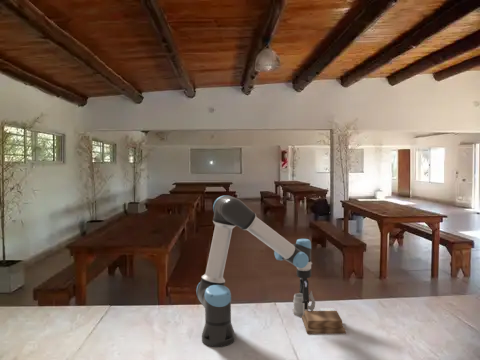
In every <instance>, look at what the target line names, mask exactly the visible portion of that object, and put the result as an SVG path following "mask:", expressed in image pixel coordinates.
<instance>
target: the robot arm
mask: <svg viewBox="0 0 480 360" xmlns="http://www.w3.org/2000/svg"><path fill="white" fill-rule="evenodd" d="M212 209H213V218H212V222H213V225H214V230H213V234H212V235H213V236H212V238H211V239H212V240H211V244H210V250H209V254H208V255H209V256H208V258H207V265H206V268H205V273H204V274H203V275H201V278H200V282H198V284H197V286H196V290H195V291H196V296H197V297H196V298H197V299H198V301H199V302H200V304H201V305H202V306H203V308H204V311H205V312H204V313H205V314H204V318H205V323H204V326H203V329H202V333H201V341H202V343H203V344H204V345H206V346H210V347H217V348H218V347H219V348H220V347H225V346H229V345H231V344H232V343H234V342H235V340H236V332H235V330H234V327H233V324H232V305H231V304H232V293H231V290H230V288H229V287H227V286H226V285H225V284H226V279H225V277H224V272H225V268H226V262H227V258H228V252H229V248H230V243H231V238H232V233H233V229H234V228H235V227H238V228H239V229H241V230H242V231H248V233H250V234H251V235H253V236H254V237H256V238H257V240H259V241H261V242H262V243H263V244H265V245H266V246H267V247H269V248H270V249H272V250H273V254H274V257H275V259H276V261H286V262H288V263H290V264H291V265H293V266H294V267H296V277H297V278H299V291H298V292H299V293H302V294H303V302H302V303H303V315H305V311H309V309H308V306H309V303H310V298H309V293H310V292H309V280H308V279H309V278H311V277H312V265H313V262H312V242H311V240H310V239H308V238H298V239H296V242H295V243H291V242H290V241H288V239H286V238H285V237H284V236H282V235H280V234H279V233H278V232H277V231H276V230H274V229H273V228H272V227H271V226H269V225H267V223H265V222H264V221H262V220H261V219H260V218H258V217H257V214H256V212H254V211H253V210H252V209H251V208H250V207H249V206H248V205H246V204H245V203H244V202H243V201H242V200H240V198H237V197H234V196H231V195H227V194H226V195H221V196H219V197H217V198H216V199H215V200H214V202H213V206H212Z"/></svg>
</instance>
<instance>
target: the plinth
mask: <svg viewBox="0 0 480 360" xmlns="http://www.w3.org/2000/svg"><path fill="white" fill-rule="evenodd" d="M301 320H302V323H303V327H304V329H305V332H306V334H307V335H312V334H313V335H321V334H323V335H326V334H327V335H328V334H330V335H333V334H334V335H335V334H337V335H338V334H340V335H341V334H342V335H343V334H344V335H345V334H347V332H346V331H347V330H346V328H345V327H344V324H343V319H342V318H341V315H340V314H339V312H338V311H337V310H335V311H320V310H313V311H311V310H308V311H305V315H302V316H301Z"/></svg>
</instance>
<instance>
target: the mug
mask: <svg viewBox="0 0 480 360" xmlns="http://www.w3.org/2000/svg"><path fill="white" fill-rule="evenodd" d="M313 295H314V294H313V291H312V290H310V292H309V300H310V301H311V304H310V305H308V310H309V311H314V310H315V308H316V301H315V297H314V296H313ZM302 302H303V294H302V293H300V292H299V293H294V295H293V300H292V303H293V307H292V308H293V309H292V314H293V315H294V316H296V317H302V315H303V303H302Z"/></svg>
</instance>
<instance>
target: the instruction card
mask: <svg viewBox="0 0 480 360" xmlns="http://www.w3.org/2000/svg"><path fill="white" fill-rule="evenodd" d="M318 311H336V309H335V307H319V308H318Z"/></svg>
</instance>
